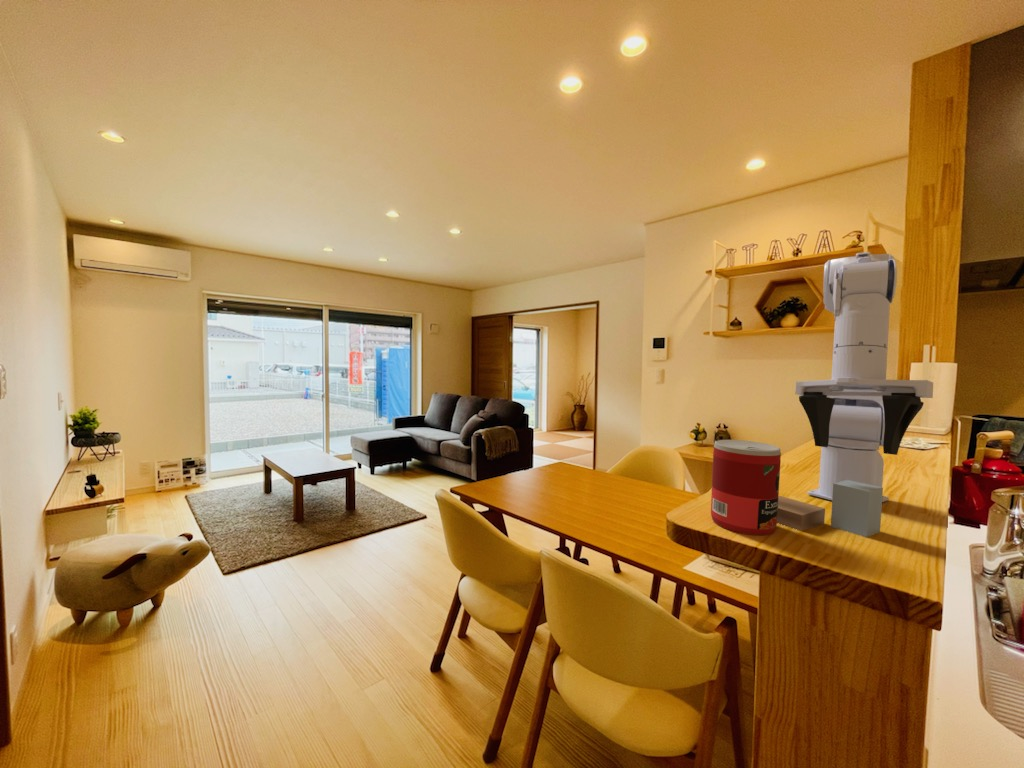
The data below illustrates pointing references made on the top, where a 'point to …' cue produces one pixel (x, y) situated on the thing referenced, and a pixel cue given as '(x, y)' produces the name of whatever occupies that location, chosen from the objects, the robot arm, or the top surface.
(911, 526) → the top surface
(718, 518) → the canned food
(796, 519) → the walnut block
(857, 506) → the grey block
